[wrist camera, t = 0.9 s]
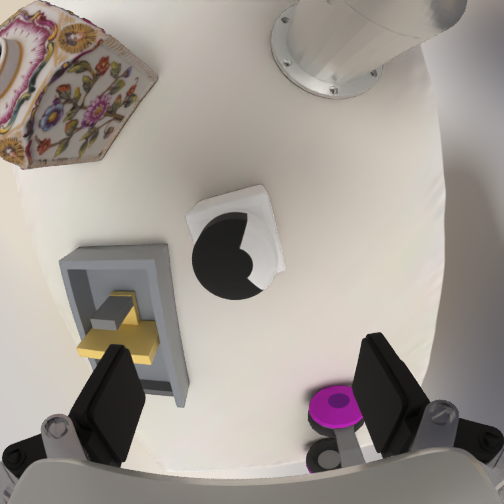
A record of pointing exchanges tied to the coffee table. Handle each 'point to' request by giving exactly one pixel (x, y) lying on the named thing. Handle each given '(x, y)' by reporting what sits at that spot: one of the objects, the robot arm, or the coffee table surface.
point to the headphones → (334, 430)
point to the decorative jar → (63, 87)
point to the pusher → (121, 330)
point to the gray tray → (148, 301)
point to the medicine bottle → (235, 243)
